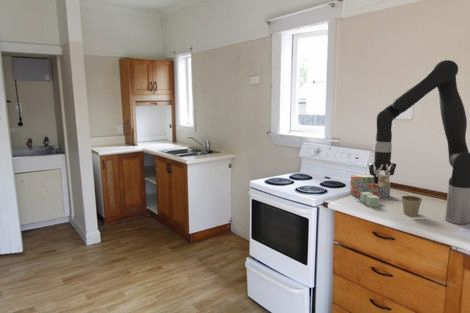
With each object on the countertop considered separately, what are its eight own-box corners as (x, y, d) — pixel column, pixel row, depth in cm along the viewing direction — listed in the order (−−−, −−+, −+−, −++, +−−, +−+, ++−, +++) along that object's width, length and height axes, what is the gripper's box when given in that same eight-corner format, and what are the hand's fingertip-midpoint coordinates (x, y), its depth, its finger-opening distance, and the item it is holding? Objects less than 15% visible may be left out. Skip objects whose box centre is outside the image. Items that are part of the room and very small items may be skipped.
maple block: (383, 183, 173) (383, 173, 172) (388, 185, 168) (389, 176, 167) (373, 183, 172) (374, 174, 171) (379, 186, 167) (379, 176, 166)
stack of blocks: (386, 195, 203) (388, 175, 201) (389, 198, 197) (391, 177, 194) (349, 193, 206) (350, 174, 204) (351, 196, 200) (352, 176, 198)
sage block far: (368, 200, 190) (368, 191, 189) (372, 203, 185) (373, 194, 184) (360, 200, 190) (360, 192, 189) (364, 203, 185) (364, 194, 184)
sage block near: (374, 203, 184) (374, 195, 183) (379, 206, 179) (379, 197, 178) (365, 204, 183) (366, 195, 182) (370, 207, 178) (370, 198, 177)
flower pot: (409, 219, 162) (411, 201, 160) (395, 212, 171) (396, 196, 169) (425, 217, 164) (427, 200, 163) (410, 211, 173) (412, 194, 172)
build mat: (374, 201, 191) (374, 200, 190) (385, 207, 179) (385, 206, 179) (357, 201, 189) (357, 200, 189) (367, 208, 178) (368, 207, 178)
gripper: (373, 152, 163) (371, 186, 165) (401, 151, 164) (398, 184, 167) (365, 149, 170) (364, 182, 173) (392, 148, 171) (390, 181, 174)
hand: (381, 183), depth 170 cm, fingers closed on maple block, 5 cm apart
